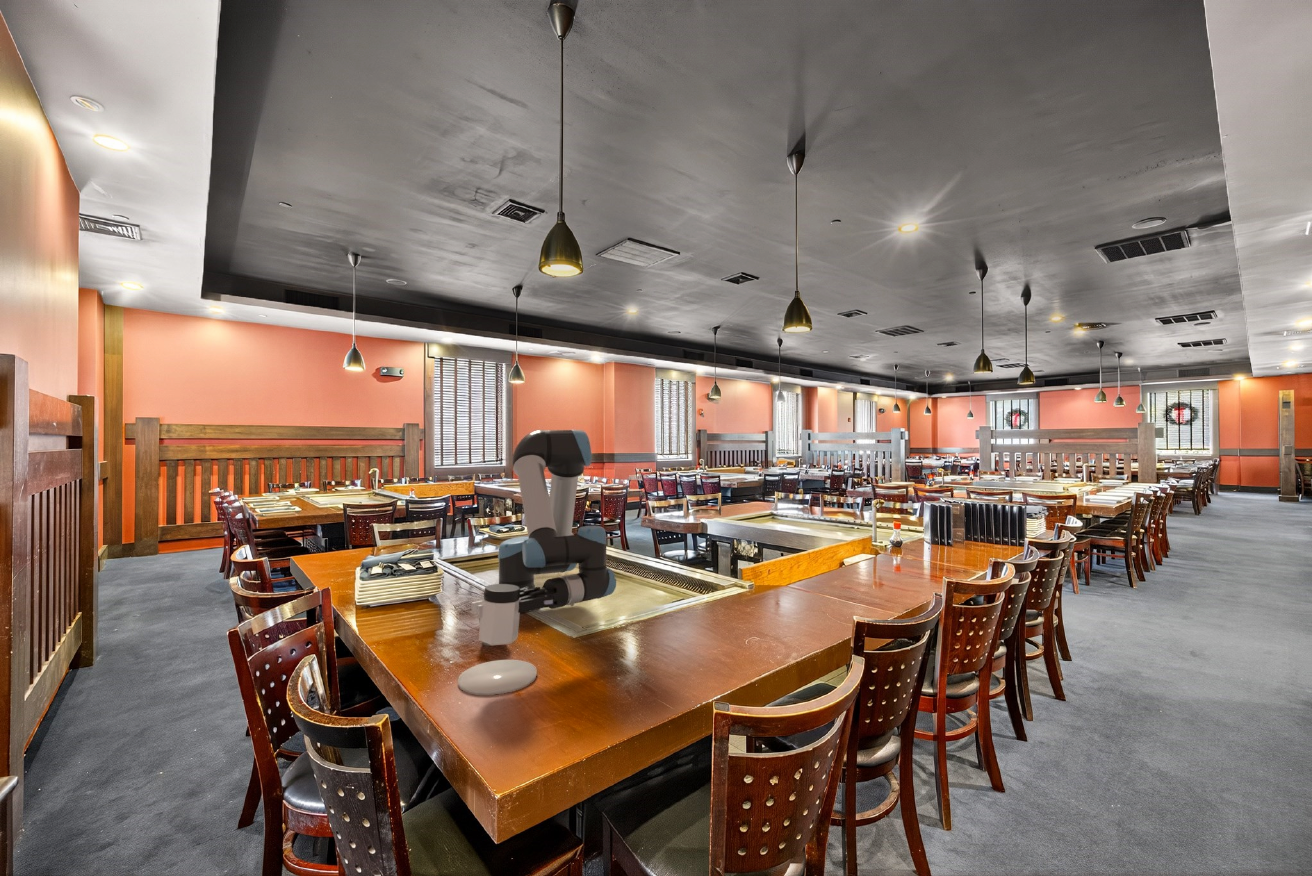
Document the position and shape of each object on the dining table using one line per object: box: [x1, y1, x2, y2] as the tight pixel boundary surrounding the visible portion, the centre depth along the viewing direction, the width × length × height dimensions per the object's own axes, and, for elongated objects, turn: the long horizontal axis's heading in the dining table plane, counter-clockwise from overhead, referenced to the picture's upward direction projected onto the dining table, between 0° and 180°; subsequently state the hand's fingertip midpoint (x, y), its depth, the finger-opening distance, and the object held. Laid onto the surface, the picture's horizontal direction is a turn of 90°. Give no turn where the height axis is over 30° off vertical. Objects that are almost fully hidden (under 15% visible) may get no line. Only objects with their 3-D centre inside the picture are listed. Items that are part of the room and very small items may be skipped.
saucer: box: [457, 659, 538, 696], centre depth 135 cm, size 18×18×1 cm
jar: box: [478, 583, 521, 646], centre depth 133 cm, size 9×8×12 cm
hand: (475, 610), depth 132 cm, fingers closed on jar, 3 cm apart
